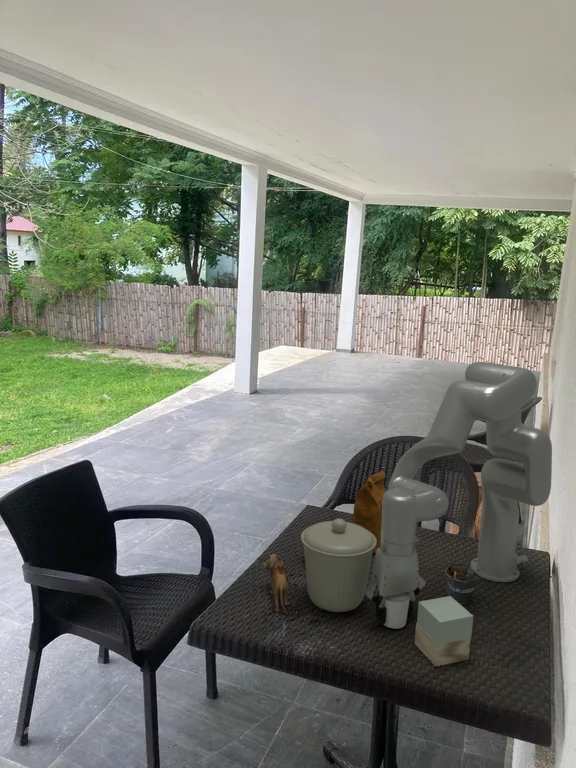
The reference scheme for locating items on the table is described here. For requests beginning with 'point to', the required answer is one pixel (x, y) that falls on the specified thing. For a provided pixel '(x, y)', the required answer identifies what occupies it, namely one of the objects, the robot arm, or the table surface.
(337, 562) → the canister
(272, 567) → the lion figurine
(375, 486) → the coffee package
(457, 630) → the tower top
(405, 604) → the shot glass
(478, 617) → the table surface
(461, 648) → the tower base
